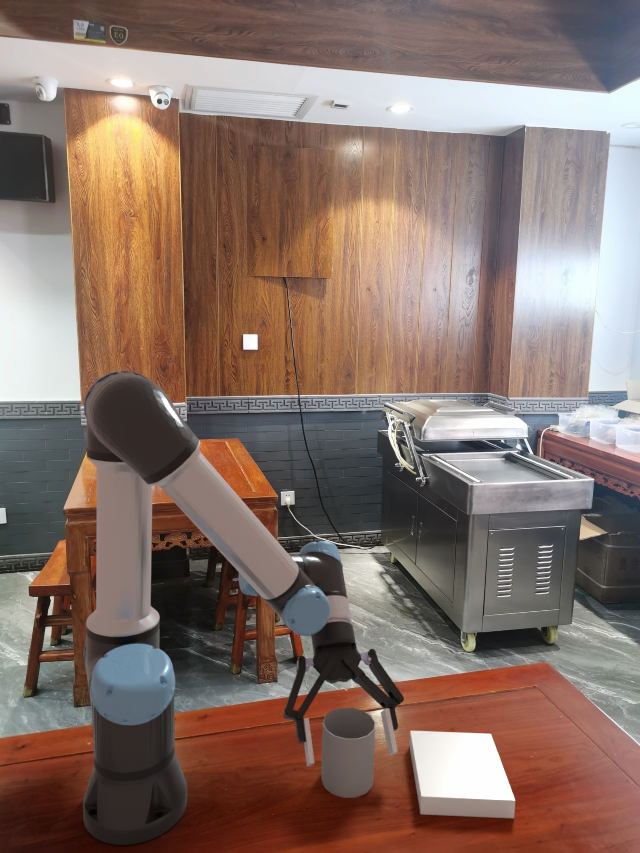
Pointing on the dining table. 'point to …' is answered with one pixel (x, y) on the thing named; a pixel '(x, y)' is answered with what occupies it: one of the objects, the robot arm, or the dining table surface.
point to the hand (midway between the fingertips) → (352, 759)
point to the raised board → (460, 775)
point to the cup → (348, 752)
